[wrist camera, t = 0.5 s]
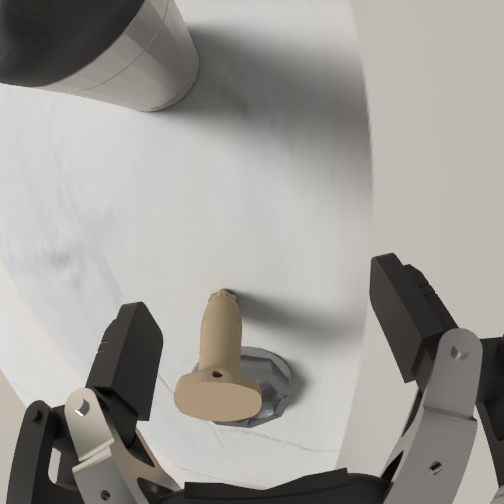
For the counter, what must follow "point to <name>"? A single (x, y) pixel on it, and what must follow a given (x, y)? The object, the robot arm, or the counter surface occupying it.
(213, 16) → the counter surface
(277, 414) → the grey shallow octagonal dish
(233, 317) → the handle
